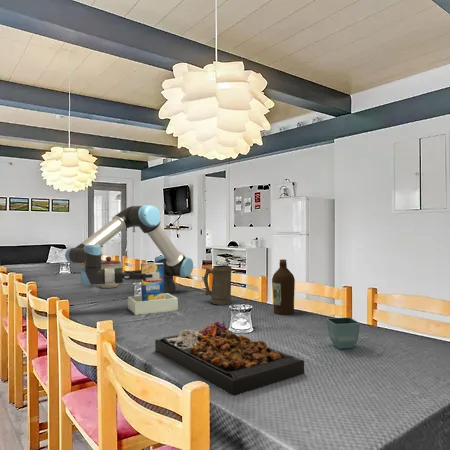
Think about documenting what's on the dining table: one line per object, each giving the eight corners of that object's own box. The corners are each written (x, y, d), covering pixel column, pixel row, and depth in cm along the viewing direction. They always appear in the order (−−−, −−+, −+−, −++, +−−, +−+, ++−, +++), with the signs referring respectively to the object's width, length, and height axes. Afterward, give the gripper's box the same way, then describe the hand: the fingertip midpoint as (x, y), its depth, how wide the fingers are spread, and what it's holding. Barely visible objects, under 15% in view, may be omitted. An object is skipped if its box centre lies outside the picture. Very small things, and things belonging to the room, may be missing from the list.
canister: (118, 289, 272) (117, 257, 271) (91, 289, 272) (90, 258, 272) (125, 285, 290) (124, 255, 290) (100, 285, 290) (99, 255, 290)
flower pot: (326, 343, 143) (325, 317, 143) (350, 342, 143) (350, 317, 143) (334, 351, 134) (334, 324, 134) (361, 350, 135) (360, 323, 135)
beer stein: (233, 301, 222) (232, 264, 222) (231, 305, 211) (231, 266, 211) (205, 301, 224) (204, 264, 224) (202, 305, 213) (201, 267, 213)
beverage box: (164, 308, 203) (163, 263, 203) (142, 309, 200) (141, 264, 200) (163, 305, 210) (162, 262, 209) (141, 306, 207) (140, 263, 207)
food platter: (155, 352, 138) (154, 322, 138) (216, 339, 152) (215, 312, 152) (233, 398, 101) (232, 356, 101) (304, 376, 115) (303, 339, 115)
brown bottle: (287, 309, 199) (286, 258, 199) (299, 313, 190) (298, 259, 190) (268, 311, 195) (267, 259, 195) (280, 316, 185) (279, 261, 185)
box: (168, 304, 217) (167, 293, 217) (177, 310, 202) (177, 298, 201) (128, 308, 208) (127, 296, 208) (135, 315, 193) (135, 302, 193)
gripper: (114, 280, 212) (155, 277, 217) (114, 287, 188) (160, 284, 193) (114, 265, 212) (155, 263, 217) (113, 271, 188) (160, 268, 193)
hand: (158, 273), depth 205 cm, fingers open, 13 cm apart
